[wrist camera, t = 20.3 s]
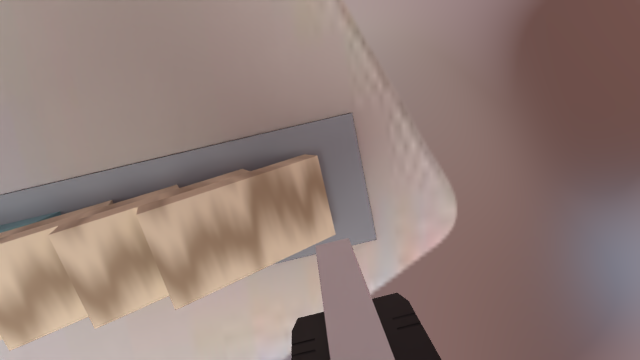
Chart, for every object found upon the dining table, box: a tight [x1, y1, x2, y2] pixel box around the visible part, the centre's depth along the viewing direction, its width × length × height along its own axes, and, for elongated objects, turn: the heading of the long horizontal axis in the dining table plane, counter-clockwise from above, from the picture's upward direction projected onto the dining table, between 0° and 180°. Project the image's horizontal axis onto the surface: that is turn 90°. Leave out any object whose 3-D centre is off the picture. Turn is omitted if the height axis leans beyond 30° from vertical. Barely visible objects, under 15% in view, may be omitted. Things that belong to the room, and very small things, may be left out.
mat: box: [0, 113, 376, 264], centre depth 27 cm, size 12×32×1 cm, turn 103°
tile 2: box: [48, 169, 250, 329], centre depth 23 cm, size 7×2×13 cm
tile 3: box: [0, 185, 179, 351], centre depth 23 cm, size 7×2×13 cm
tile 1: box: [136, 154, 336, 310], centre depth 23 cm, size 7×2×13 cm
